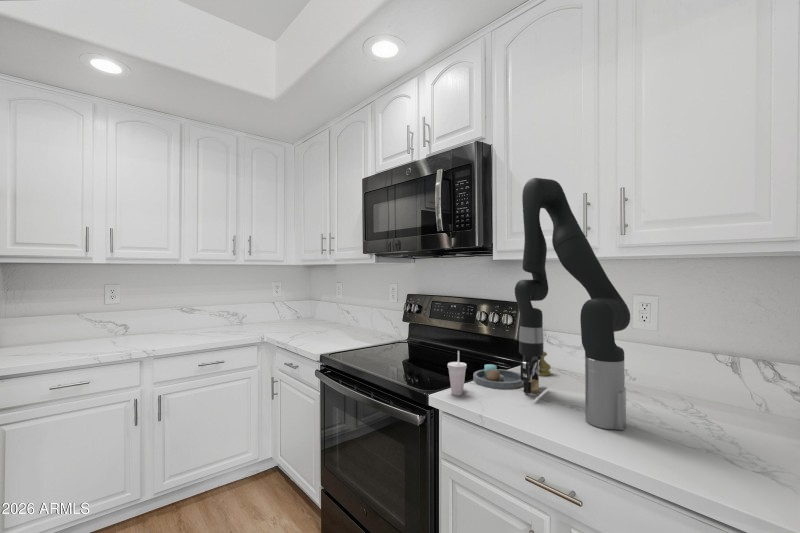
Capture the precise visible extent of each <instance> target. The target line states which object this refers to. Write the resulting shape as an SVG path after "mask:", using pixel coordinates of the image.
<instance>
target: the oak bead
mask: <svg viewBox="0 0 800 533" xmlns="http://www.w3.org/2000/svg"><path fill="white" fill-rule="evenodd" d="M539 386H540V382H539V381H538V380H535V379H531V393H530V394H538V393H539V392H540V387H539ZM539 395H540V394H538V395H537V397H539Z"/></svg>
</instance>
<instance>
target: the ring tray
mask: <svg viewBox="0 0 800 533" xmlns="http://www.w3.org/2000/svg"><path fill="white" fill-rule="evenodd" d="M497 371H499V372H500V382H496V381H490V380H487V379H486V378H484V369H479V370H476V371H474V372H473V375H472V377H473V378H472V381H473V382H474V383H475V384H476V385H479V386H481V387H485V388H490V389H495V390H496V389H497V390H513V389H519V388H522V387H524V381H522V380H521V379H520V378H521V372H516V371H514V370H508V369H502V368H501V369H500V368H499V369H497Z"/></svg>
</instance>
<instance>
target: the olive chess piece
mask: <svg viewBox="0 0 800 533" xmlns="http://www.w3.org/2000/svg"><path fill="white" fill-rule="evenodd" d="M547 355H548V353H547V352H546V351H544V350H543V355H542V356H541V373H540V375H539V377H549V376H551V372H552V371H551V366H552V365H551V364H549V363H548V362H547V361H546V360H545V357H546V356H547Z"/></svg>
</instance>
